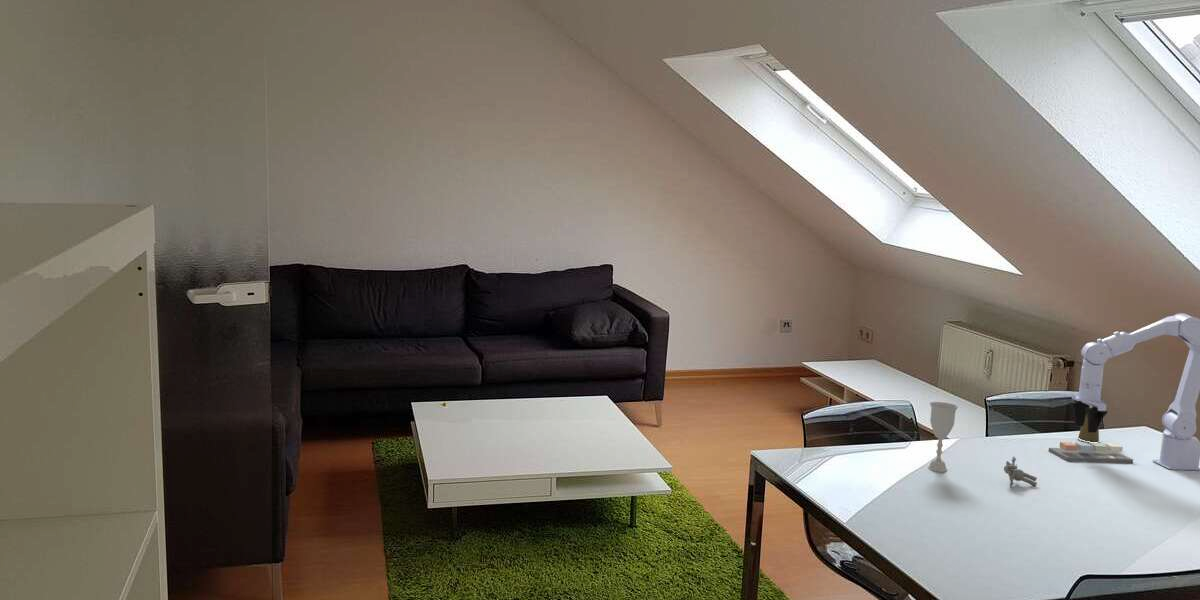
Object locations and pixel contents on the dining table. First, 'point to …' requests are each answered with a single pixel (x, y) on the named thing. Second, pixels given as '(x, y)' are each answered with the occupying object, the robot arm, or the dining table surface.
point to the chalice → (941, 429)
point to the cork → (1088, 435)
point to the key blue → (1083, 446)
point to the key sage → (1099, 447)
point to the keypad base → (1091, 456)
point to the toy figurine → (1018, 474)
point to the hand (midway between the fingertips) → (1085, 428)
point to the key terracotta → (1068, 446)
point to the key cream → (1113, 447)
